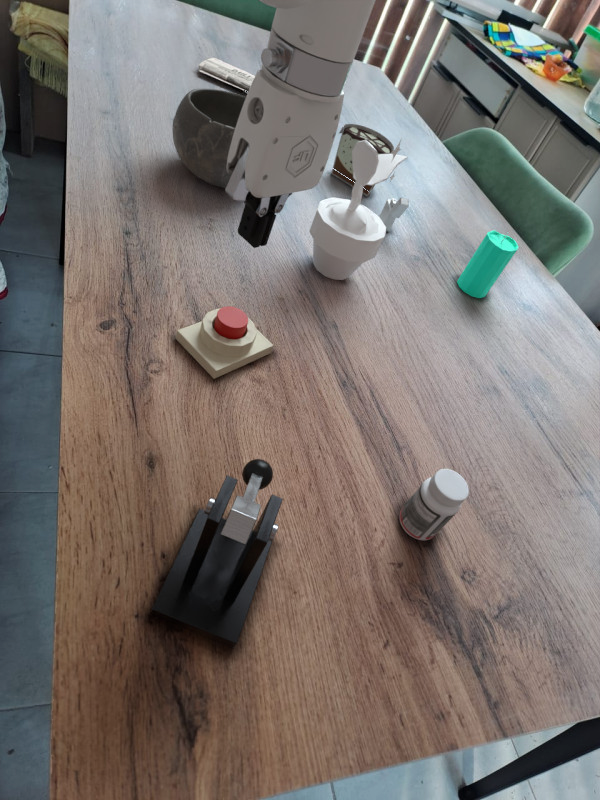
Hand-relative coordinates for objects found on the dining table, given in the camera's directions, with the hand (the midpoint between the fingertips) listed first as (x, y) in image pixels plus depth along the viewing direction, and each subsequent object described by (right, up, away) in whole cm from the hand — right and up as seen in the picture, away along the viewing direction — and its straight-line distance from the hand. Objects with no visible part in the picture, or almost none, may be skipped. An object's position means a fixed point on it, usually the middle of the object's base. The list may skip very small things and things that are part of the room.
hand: (251, 239), depth 63 cm
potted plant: (+11, +4, +32) cm, 35 cm away
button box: (-5, -11, +12) cm, 17 cm away
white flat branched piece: (+22, +15, +47) cm, 54 cm away
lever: (0, -28, -12) cm, 30 cm away
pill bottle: (+19, -32, +3) cm, 37 cm away
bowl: (-10, +23, +40) cm, 48 cm away
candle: (+37, +3, +43) cm, 57 cm away
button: (-4, -9, +10) cm, 14 cm away
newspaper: (-7, +56, +73) cm, 92 cm away
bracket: (-3, -35, -9) cm, 36 cm away
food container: (+17, +28, +57) cm, 66 cm away
